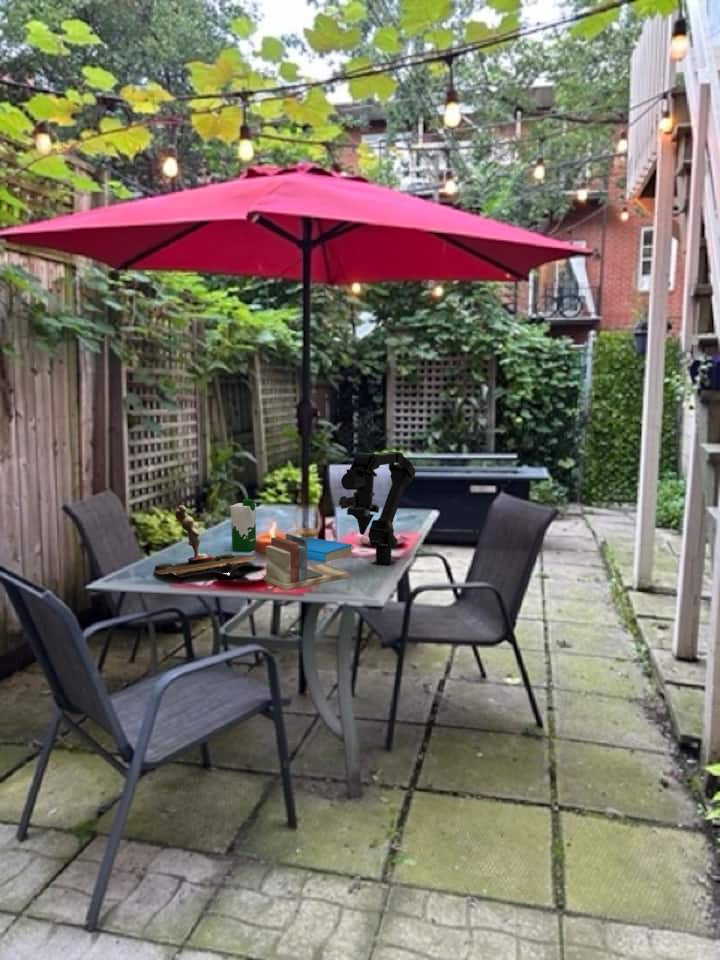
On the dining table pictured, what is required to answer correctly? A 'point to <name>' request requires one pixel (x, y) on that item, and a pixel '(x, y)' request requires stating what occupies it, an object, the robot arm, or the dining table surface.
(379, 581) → the dining table surface
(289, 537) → the bookend
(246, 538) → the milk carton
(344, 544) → the book
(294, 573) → the book shelf
